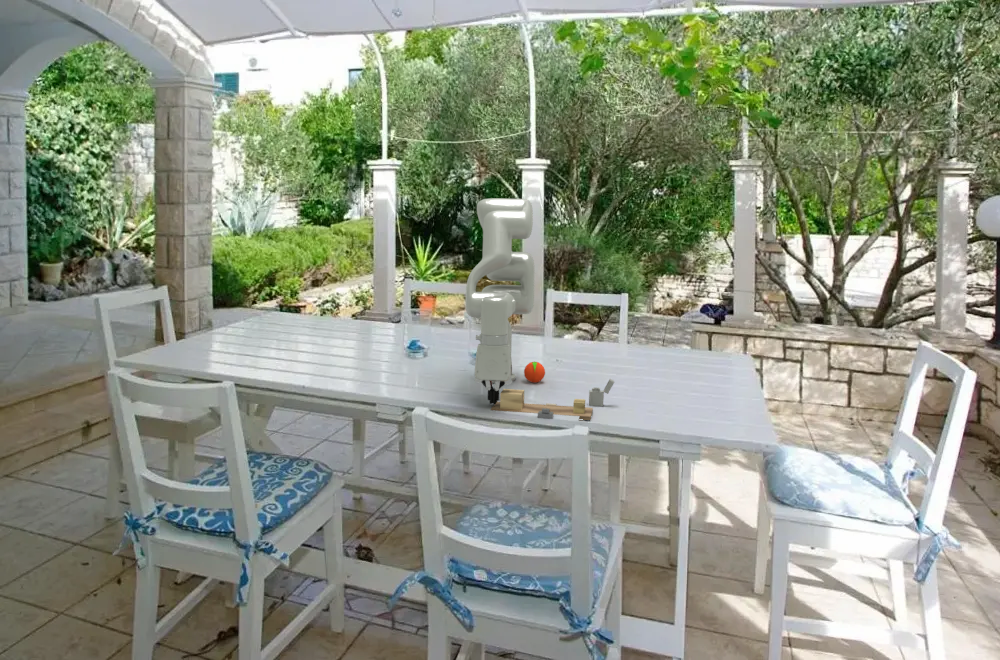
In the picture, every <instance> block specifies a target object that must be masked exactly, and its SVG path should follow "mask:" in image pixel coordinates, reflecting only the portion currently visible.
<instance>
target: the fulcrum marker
mask: <svg viewBox="0 0 1000 660" xmlns="http://www.w3.org/2000/svg"><path fill="white" fill-rule="evenodd" d="M537 418H538V419H549V420H550V419H551V420H553V418H554V412H550V409H546V408H542V411H539V412H538V413H537Z"/></svg>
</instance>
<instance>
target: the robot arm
mask: <svg viewBox="0 0 1000 660" xmlns="http://www.w3.org/2000/svg"><path fill="white" fill-rule="evenodd" d="M476 213H477V217H478V221H479V224H480V227H481V228H482V256H481V257H482V258H481V260H480V261H479V262H478V264H476V265H475V267H473V269H472V270H471V272H470V273H469V276H468V277H467V280H466V281H467V282H466V288H465V291H466V292H465V311H466V313H467V315H468V316H469V317H471V318H477V319H479V318H480V334H476V335H475V340H477V341H479V343H478V344H477V347H476V351H475V352H476V354H475V362H474V363H475V365H474V377H475V378H474V381H475V383H478V384H481V385H483V387H485V389H486V390H487V401H489V405H494V404H496V403H497V402H500V389H501V388H503V386H506V385H508V386H509V385H511V384H512V383H513V382H514V381H515V380H516V375H515V374H514V373H513V365H512V364H513V362H512V361H513V360H512V339H513V336H512V335H513V334H512V333H513V332H512V331H513V330H512V329H513V328H512V325H511V323H510V321H509V320H508V319H509V318H511V316H512V315H528V314H530V313H531V312H533V310H534V306H535V260H534V257H533V255H532V254H530V253H529V252H526V251H525V252H524V251H513V248H512V245H513V244H512V242H513V241H512V240H513V239H514V240H516V239H517V240H526V239H529V238H530V237H531V235H532V231H533V223H534V222H533V221H534V219H533V216H534V215H533V214H534V212H533V205H532V203H531V201H530V200H529V199H526V198H502V197H501V198H500V197H499V198H497V197H496V198H495V197H494V198H492V197H491V198H484V199H481V200H479V201H478V202H477V205H476ZM485 276H486V278H488V279H489V280H490V281H497V282H498V281H500V282H501V281H502V282H519V283H520V284H519V285H518V284H517V285H514V284H490V285H486V286H485V287H483V288H482V290H481V291H476V288H477V284H478V283H479V281H480V280H481V279H482V278H484V277H485ZM493 384H494V386H493Z"/></svg>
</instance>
